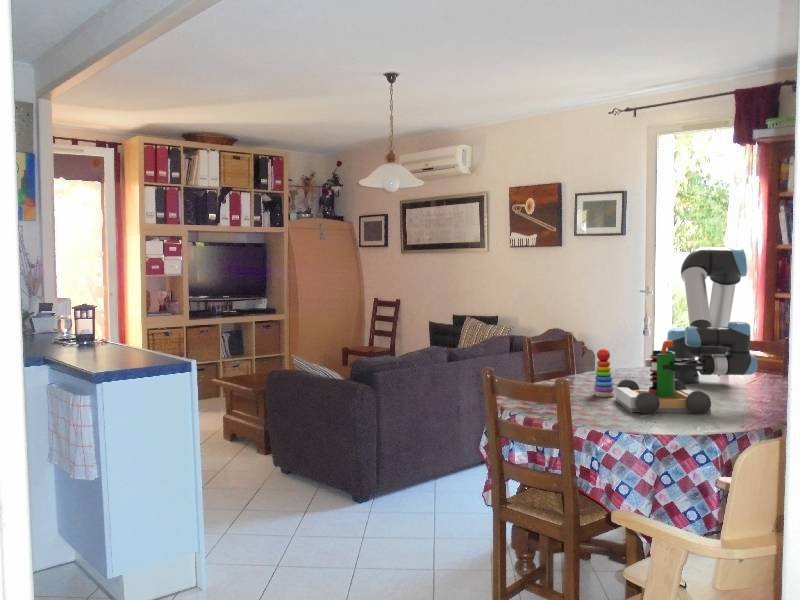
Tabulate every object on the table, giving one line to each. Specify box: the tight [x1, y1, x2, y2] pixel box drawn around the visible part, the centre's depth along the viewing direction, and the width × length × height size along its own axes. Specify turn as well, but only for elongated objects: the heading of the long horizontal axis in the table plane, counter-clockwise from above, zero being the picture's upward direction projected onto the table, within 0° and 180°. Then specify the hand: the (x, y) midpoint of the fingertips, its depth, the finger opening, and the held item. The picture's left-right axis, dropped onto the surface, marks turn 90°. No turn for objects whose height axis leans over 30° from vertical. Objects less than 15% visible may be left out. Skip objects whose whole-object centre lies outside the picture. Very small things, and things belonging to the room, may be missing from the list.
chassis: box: [615, 378, 712, 415], centre depth 264 cm, size 25×28×8 cm
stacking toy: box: [593, 348, 615, 398], centre depth 284 cm, size 8×8×19 cm
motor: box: [648, 339, 675, 397], centre depth 264 cm, size 10×9×20 cm
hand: (648, 364), depth 264 cm, fingers closed on motor, 7 cm apart
